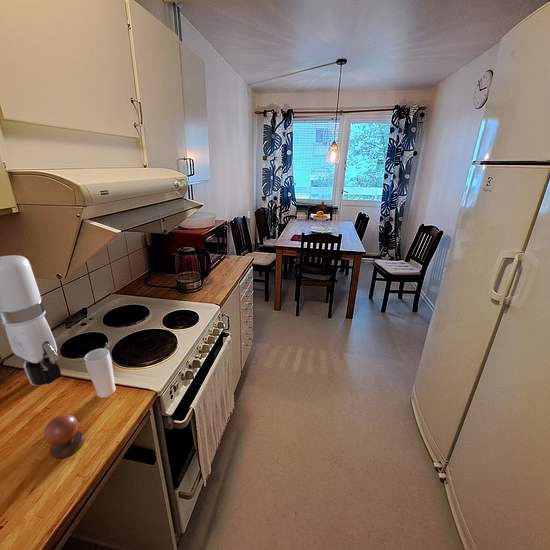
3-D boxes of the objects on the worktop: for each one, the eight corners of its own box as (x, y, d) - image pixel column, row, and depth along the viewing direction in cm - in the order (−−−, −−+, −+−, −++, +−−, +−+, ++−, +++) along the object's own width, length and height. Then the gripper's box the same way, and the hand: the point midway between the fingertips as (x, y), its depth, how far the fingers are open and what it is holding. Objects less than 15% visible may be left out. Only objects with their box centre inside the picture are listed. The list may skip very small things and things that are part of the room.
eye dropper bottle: (45, 374, 100) (35, 346, 95) (47, 383, 96) (36, 354, 92) (29, 380, 97) (18, 351, 93) (30, 389, 93) (19, 360, 89)
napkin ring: (40, 388, 67) (34, 371, 65) (27, 380, 69) (20, 364, 67) (65, 373, 71) (60, 356, 69) (52, 366, 73) (46, 350, 72)
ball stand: (62, 464, 71) (51, 436, 67) (45, 452, 74) (33, 425, 70) (90, 440, 77) (81, 413, 73) (73, 430, 80) (64, 404, 76)
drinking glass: (91, 392, 93) (80, 354, 87) (114, 381, 97) (104, 345, 92) (98, 404, 88) (87, 365, 83) (121, 392, 93) (112, 354, 87)
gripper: (-20, 310, 63) (8, 375, 70) (25, 329, 57) (50, 398, 63) (20, 296, 69) (42, 357, 76) (64, 312, 63) (84, 377, 70)
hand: (45, 375), depth 70 cm, fingers closed on napkin ring, 5 cm apart
